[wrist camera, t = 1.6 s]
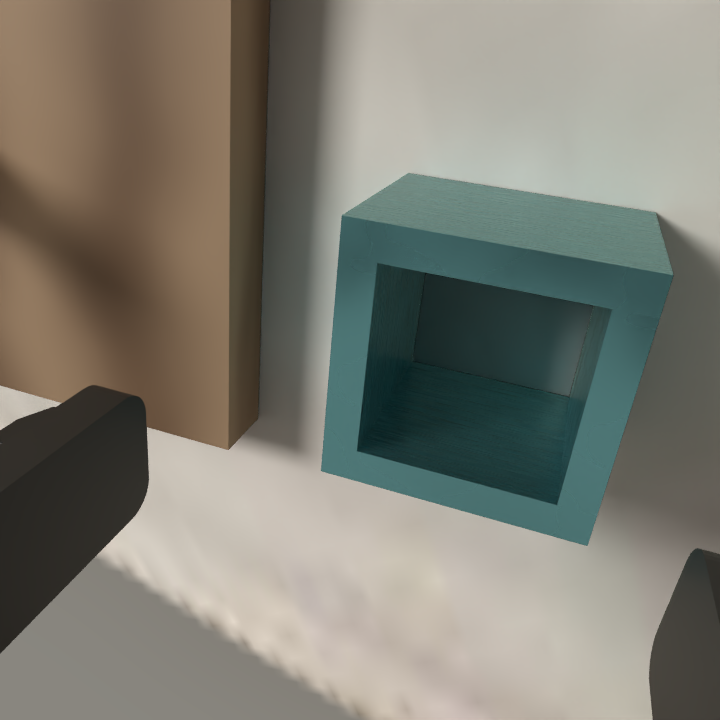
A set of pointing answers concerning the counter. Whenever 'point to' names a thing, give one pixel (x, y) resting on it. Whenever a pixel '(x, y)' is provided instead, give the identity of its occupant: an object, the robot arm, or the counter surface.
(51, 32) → the post board
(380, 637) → the counter surface
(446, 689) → the counter surface
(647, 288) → the collar
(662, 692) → the robot arm
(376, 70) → the counter surface
